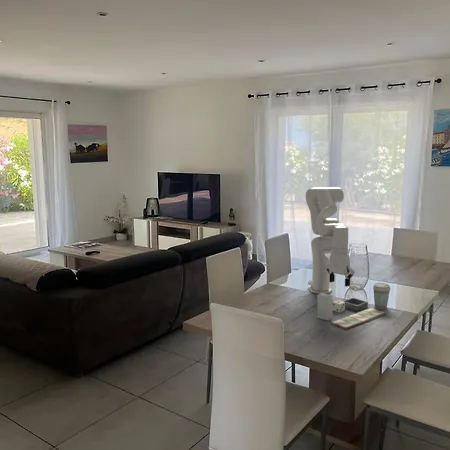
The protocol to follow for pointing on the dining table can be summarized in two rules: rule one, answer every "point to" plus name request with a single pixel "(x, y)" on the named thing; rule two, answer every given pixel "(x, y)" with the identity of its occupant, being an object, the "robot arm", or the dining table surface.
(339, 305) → the die
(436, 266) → the dining table surface
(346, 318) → the track
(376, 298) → the coffee cup
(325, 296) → the skincare box
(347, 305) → the dice tray
